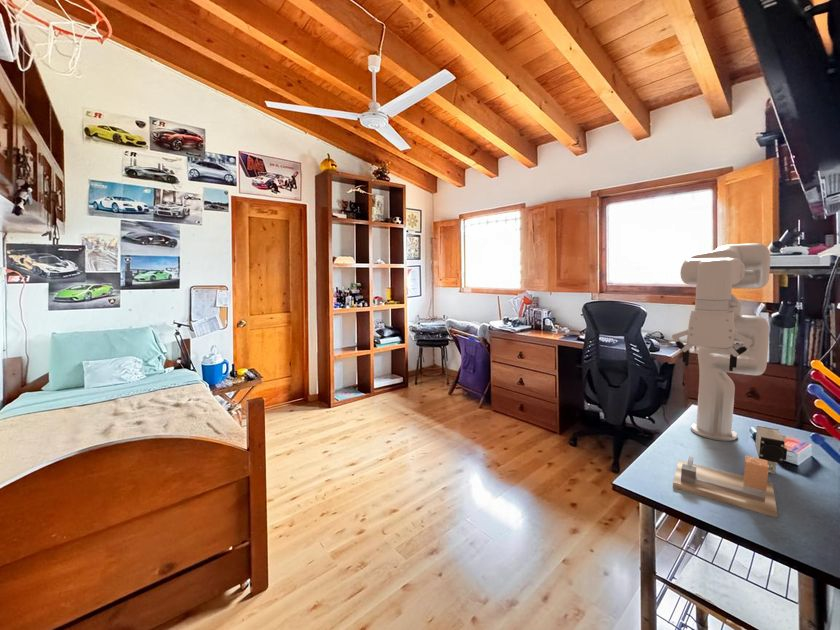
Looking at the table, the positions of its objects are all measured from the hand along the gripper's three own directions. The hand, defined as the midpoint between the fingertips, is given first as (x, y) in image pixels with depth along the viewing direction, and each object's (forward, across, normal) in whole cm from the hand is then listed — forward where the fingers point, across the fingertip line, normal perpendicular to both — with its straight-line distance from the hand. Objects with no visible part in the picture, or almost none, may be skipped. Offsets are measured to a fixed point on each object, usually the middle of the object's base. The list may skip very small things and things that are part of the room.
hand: (708, 367), depth 103 cm
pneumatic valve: (+30, -15, -10) cm, 35 cm away
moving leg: (+28, -11, +9) cm, 31 cm away
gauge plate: (+30, -5, +8) cm, 31 cm away
